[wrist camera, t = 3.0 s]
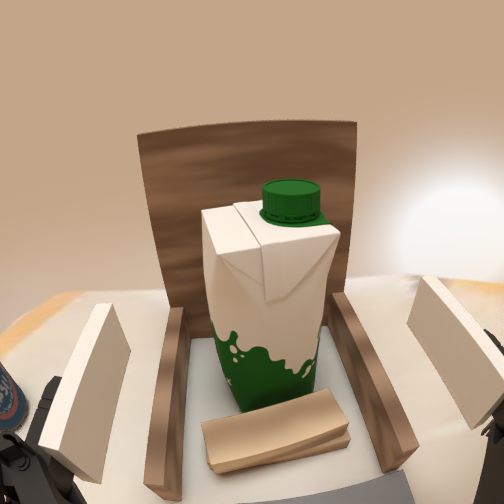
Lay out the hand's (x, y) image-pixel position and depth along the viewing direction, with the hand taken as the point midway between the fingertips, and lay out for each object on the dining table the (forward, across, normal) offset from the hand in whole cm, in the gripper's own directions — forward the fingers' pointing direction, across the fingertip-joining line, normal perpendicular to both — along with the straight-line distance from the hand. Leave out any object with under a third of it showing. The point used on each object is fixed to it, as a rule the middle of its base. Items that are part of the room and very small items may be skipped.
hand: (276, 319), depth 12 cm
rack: (+8, +1, -18) cm, 19 cm away
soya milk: (+10, +1, -18) cm, 20 cm away
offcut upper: (+2, 0, -16) cm, 16 cm away
